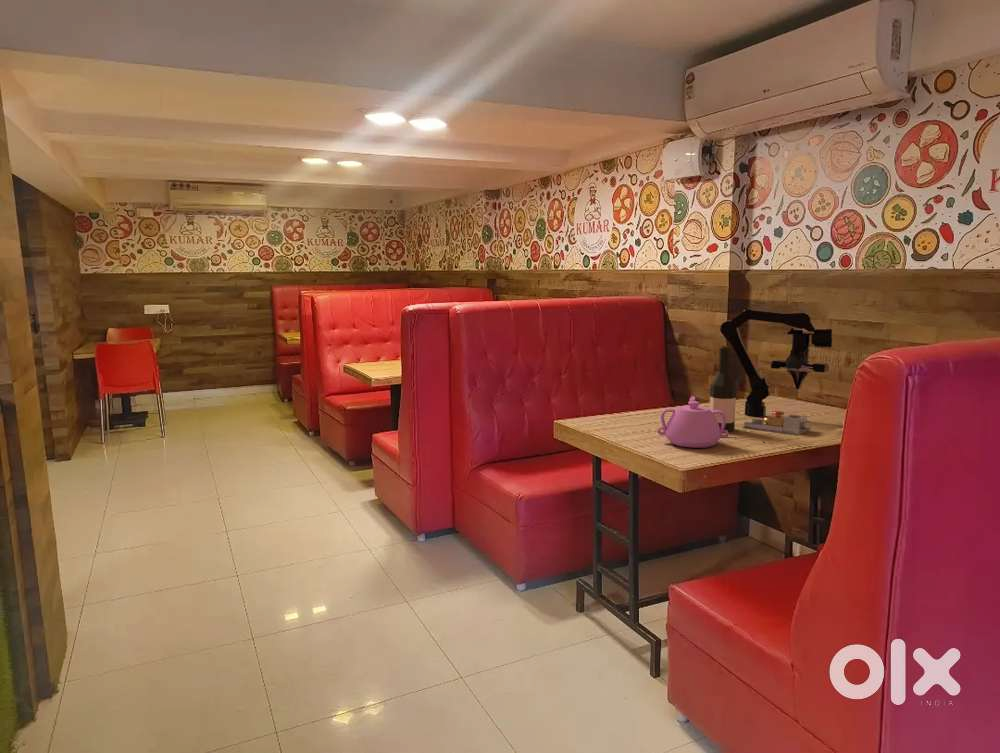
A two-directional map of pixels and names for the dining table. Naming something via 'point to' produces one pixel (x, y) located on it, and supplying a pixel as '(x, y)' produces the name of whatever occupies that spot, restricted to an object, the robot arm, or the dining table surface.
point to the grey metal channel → (790, 425)
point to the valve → (774, 419)
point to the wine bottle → (724, 391)
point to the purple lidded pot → (693, 426)
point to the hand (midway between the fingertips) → (797, 389)
